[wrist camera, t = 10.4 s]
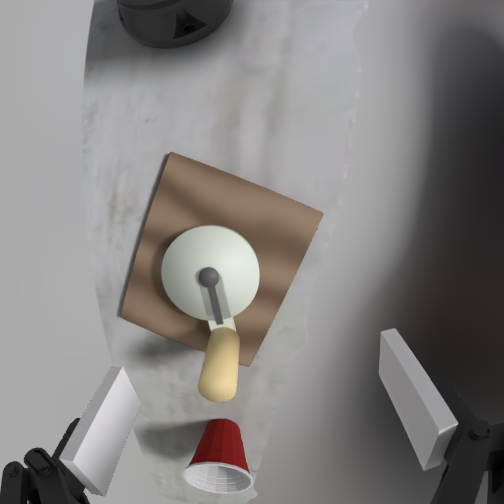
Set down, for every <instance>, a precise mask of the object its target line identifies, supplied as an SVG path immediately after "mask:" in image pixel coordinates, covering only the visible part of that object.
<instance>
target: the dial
mask: <svg viewBox="0 0 504 504" xmlns="http://www.w3.org/2000/svg"><path fill="white" fill-rule="evenodd" d="M161 275H162V282H163V285H164V288H165V291H166V293H167V295H168V296H169V298H170V299H171V301H172V302H173V303H174V304H175V305H176V306H177V307H178V308H179V309H180V310H182V311H183V312H185V313H186V314H188V315H190V316H192V317H195V318H198V319H201V320H207V321H208V322H209V326H210V330H211V335H210V338H209V342H208V346H207V350H206V354H205V358H204V362H203V366H202V371H201V375H200V379H199V383H198V390H199V392H200V394H201V395H202V396H203V397H204V398H206V399H207V400H210V401H213V402H225V401H228V400H230V399H232V398H233V397H234V395H235V393H236V387H237V374H238V361H239V348H240V337H239V335H238V333H237V332H236V328H235V323H234V319H233V316H235V315H237V314H239V313H240V312H242V311H243V310H244V309H245V308H246V307H247V306H248V305H249V304H250V303H251V302H252V300H253V299H254V297H255V295H256V292H257V289H258V286H259V276H260V274H259V263H258V259H257V256H256V253H255V251H254V249H253V247H252V246H251V245H250V243H249V242H248V241H247V240H246V239H245V238H244V237H243V236H242V235H241V234H239V233H238V232H236V231H235V230H233V229H231V228H228V227H226V226H222V225H217V224H203V225H198V226H195V227H192V228H190V229H188V230H186V231H185V232H183V233H182V234H181V235H179V236H178V237H177V238H176V239H175V240H174V241H173V242H172V243H171V245H170V246H169V248H168V249H167V251H166V253H165V255H164V258H163V262H162V268H161Z"/></svg>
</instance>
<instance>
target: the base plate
mask: <svg viewBox="0 0 504 504" xmlns="http://www.w3.org/2000/svg"><path fill="white" fill-rule="evenodd" d="M322 216H323V213H322V212H320V211H318V210H315V209H313V208H311V207H309V206H306V205H304V204H302V203H300V202H297V201H295V200H293V199H290V198H288V197H286V196H283V195H281V194H278V193H276V192H274V191H271V190H269V189H267V188H264V187H262V186H259V185H257V184H254V183H252V182H249V181H247V180H244V179H242V178H239V177H237V176H234V175H232V174H229V173H227V172H224V171H222V170H219V169H216V168H214V167H211V166H209V165H206V164H203V163H201V162H198V161H195V160H193V159H190V158H187V157H184V156H182V155H179V154H176V153H173V152H170V155H169V158H168V160H167V163H166V166H165V168H164V171H163V174H162V177H161V180H160V182H159V185H158V188H157V191H156V194H155V197H154V200H153V203H152V206H151V209H150V212H149V215H148V218H147V221H146V224H145V227H144V231H143V234H142V237H141V241H140V244H139V247H138V251H137V254H136V258H135V261H134V265H133V268H132V272H131V276H130V280H129V283H128V287H127V291H126V295H125V299H124V303H123V307H122V312H121V316H120V317H121V318H123V319H125V320H128V321H130V322H132V323H134V324H137V325H139V326H141V327H144V328H146V329H148V330H151V331H153V332H156V333H158V334H160V335H163V336H165V337H168V338H170V339H173V340H175V341H178V342H180V343H183V344H185V345H188V346H191V347H193V348H196V349H199V350H201V351H204V352H206V350H207V346H208V342H209V338H210V335H211V330H210V326H209V322H208V321H207V320H201V319H198V318H195V317H192V316H190V315H188V314H186V313H185V312H183V311H182V310H180V309H179V308H178V307H177V306H176V305H175V304H174V303H173V302H172V301H171V299H170V298H169V296H168V295H167V293H166V291H165V288H164V285H163V282H162V275H161V268H162V262H163V258H164V255H165V253H166V251H167V249H168V248H169V246H170V245H171V243H172V242H173V241H174V240H175V239H176V238H177V237H178V236H179V235H181V234H182V233H183V232H185V231H186V230H188V229H190V228H192V227H195V226H198V225H203V224H217V225H222V226H226V227H228V228H231V229H233V230H235V231H236V232H238V233H239V234H241V235H242V236H243V237H244V238H245V239H246V240H247V241H248V242H249V243H250V245H251V246H252V247H253V249H254V251H255V253H256V256H257V259H258V263H259V274H260V276H259V286H258V289H257V292H256V295H255V297H254V299H253V300H252V302H251V303H250V304H249V305H248V306H247V307H246V308H245V309H244V310H243V311H242V312H240V313H239V314H237V315H235V316H233V319H234V323H235V328H236V332H237V333H238V335H239V337H240V348H239V361H238V364H241V365H244V366H247V367H250V365H251V363H252V361H253V359H254V357H255V355H256V353H257V351H258V349H259V348H260V346H261V344H262V342H263V340H264V338H265V336H266V334H267V332H268V330H269V328H270V326H271V324H272V322H273V320H274V318H275V316H276V314H277V312H278V310H279V308H280V306H281V304H282V302H283V300H284V298H285V296H286V293H287V291H288V289H289V287H290V285H291V283H292V281H293V279H294V277H295V275H296V273H297V271H298V268H299V266H300V264H301V262H302V260H303V258H304V256H305V254H306V251H307V249H308V247H309V245H310V243H311V241H312V238H313V236H314V234H315V232H316V230H317V227H318V225H319V223H320V221H321V219H322Z"/></svg>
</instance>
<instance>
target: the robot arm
mask: <svg viewBox="0 0 504 504" xmlns="http://www.w3.org/2000/svg"><path fill="white" fill-rule="evenodd" d="M232 2H233V0H117V4H118V7H119V17H120V20H121V23H122V25H123V27H124V28H125V30H126V31H127V32H128V33H129V34H130V35H131V36H132V37H133V38H134V39H135V40H137V41H138V42H140V43H142V44H144V45H147V46H150V47H155V48H175V47H181V46H185V45H188V44H191V43H194V42H196V41H198V40H200V39H202V38H204V37H206V36H207V35H209V34H210V33H212V32H213V31H214V30H215V29H216V28H217V27H219V26H220V24H221V23H222V22H223V21H224V20H225V18H226V17H227V15H228V13H229V11H230V9H231V6H232ZM379 376H380V378H381V379H382V382H383V383H384V386H385V388H386V390H387V392H388V394H389V396H390V398H391V400H392V402H393V404H394V406H395V409H396V411H397V413H398V415H399V417H400V419H401V421H402V423H403V426H404V428H405V430H406V432H407V434H408V437H409V439H410V441H411V443H412V445H413V448H414V450H415V452H416V454H417V457H418V459H419V461H420V463H421V466H422V468H423V470H424V471H425V470H428V469H430V468H433V467H435V466H438V465H440V464H441V462H442V460H443V458H445V460H446V462H447V466H446V468H445V470H444V472H443V473H442V478H441V480H440V483H439V485H438V488H437V490H436V492H435V494H434V497H433V499H432V501H431V503H430V504H474V503H475V499H476V497H477V494H478V491H479V488H480V484H481V481H482V478H483V475H484V471H488V495H487V504H504V423H502V424H497V425H490V424H489V423H488V422H486V421H483V420H478V419H477V418H476V417H475V415H474V414H473V412H472V411H471V409H470V408H469V406H468V405H467V403H466V402H465V400H464V399H463V398H462V396H460V393H459V392H458V391H457V390H456V388H455V387H454V385H453V383H452V382H451V381H450V380H449V379H447V378H445V377H444V376H442V375H440V376H437V377H434V378H431V379H430V378H429V377H428V375H427V374H426V372H425V371H424V369H423V368H422V366H421V365H420V363H419V362H418V360H417V359H416V358H415V356H414V355H413V353H412V352H411V350H410V349H409V347H408V346H407V344H406V343H405V342H404V340H403V339H402V337H401V336H400V335H399V333H398V332H397V331H396V329H395V328H394V329H390V330H386V331H382V332H381V343H380V363H379ZM140 405H141V403H140V401H139V399H138V397H137V395H136V393H135V391H134V389H133V387H132V385H131V383H130V381H129V379H128V377H127V375H126V372H125V370H124V368H123V367H110V369H109V371H108V373H107V374H106V376H105V377H104V379H103V381H102V383H101V384H100V386H99V388H98V389H97V391H96V393H95V394H94V396H93V398H92V400H91V401H90V403H89V405H88V407H87V409H86V410H85V412H84V414H83V415H82V417H81V418H77V419H75V420H74V421H73V422H72V423H71V424H70V425H69V427H68V429H67V431H66V433H65V434H64V436H63V439H61V441H60V443H59V445H58V447H57V448H56V450H55V452H54V454H53V456H52V457H50V456H49V455H48V453H47V452H46V451H45V450H44V449H42V448H33V449H32V450H30V451H28V453H27V454H26V455H25V457H24V463H25V464H26V465H27V466H28V468H24V467H23V466H22V465H21V464H20V463H19V462H16V461H14V462H10V463H9V464H7V465H6V466H5V468H4V470H3V475H2V483H1V492H0V504H27V500H28V501H29V504H90V503H89V501H88V499H87V496H86V495H85V493H84V492H83V491H84V489H85V487H86V488H87V489H88V490H89V491H90V492H91V493H92V494H96V495H100V496H106V493H107V490H108V488H109V485H110V482H111V480H112V477H113V474H114V472H115V469H116V466H117V463H118V461H119V458H120V455H121V453H122V450H123V448H124V445H125V443H126V440H127V438H128V435H129V433H130V430H131V427H132V425H133V423H134V420H135V418H136V415H137V413H138V410H139V408H140Z"/></svg>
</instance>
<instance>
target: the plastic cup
mask: <svg viewBox="0 0 504 504" xmlns="http://www.w3.org/2000/svg"><path fill="white" fill-rule="evenodd" d="M182 475H183V478H184V480H185V481H186V482H187V483H189V484H190V485H191V486H193V487H195V488H198V489H200V490H203V491H207V492H211V493H219V494H231V493H239V492H242V491H245V490H247V489H249V488H250V487H251V486H252V485H253V477H252V476H251V474H250V473H249V469H248V466H247V463H246V458H245V453H244V447H243V442H242V439H241V434H240V429H239V427H238V426H237V424H236V423H234V422H233V421H231V420H227V419H216V420H213V421H211V422H210V423H209V424H208V425H207V427H206V429H205V432H204V434H203V436H202V438H201V440H200V443H199V445H198V447H197V450H196V452H195V454H194V456H193V458H192V460H191V462H190V464H189V466H188V467H186V468H185V470H184V472H183V474H182Z"/></svg>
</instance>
